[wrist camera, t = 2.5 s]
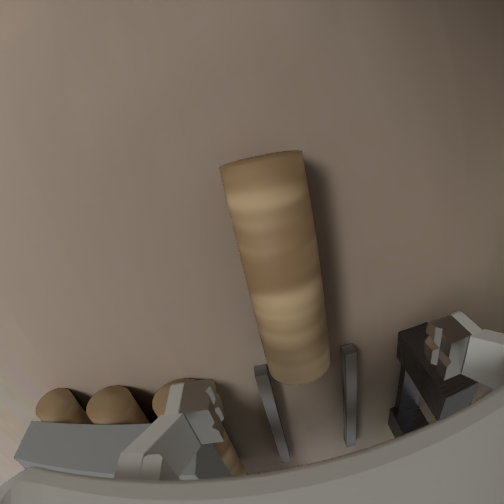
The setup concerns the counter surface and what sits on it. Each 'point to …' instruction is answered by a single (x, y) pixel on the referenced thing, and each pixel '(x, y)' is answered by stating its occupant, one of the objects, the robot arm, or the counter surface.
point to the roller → (280, 262)
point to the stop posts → (424, 385)
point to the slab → (99, 450)
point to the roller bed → (128, 411)
